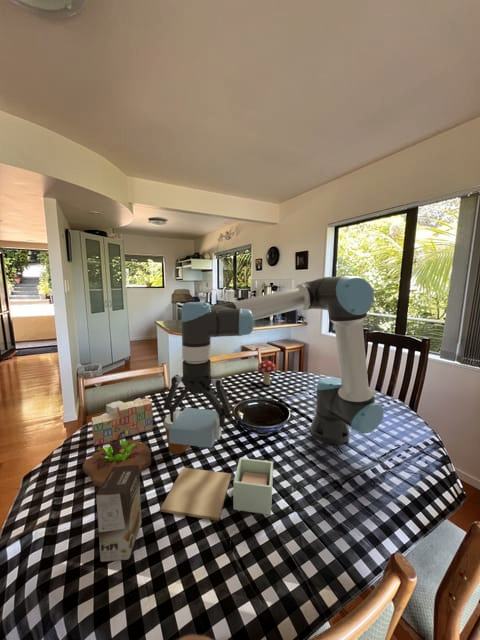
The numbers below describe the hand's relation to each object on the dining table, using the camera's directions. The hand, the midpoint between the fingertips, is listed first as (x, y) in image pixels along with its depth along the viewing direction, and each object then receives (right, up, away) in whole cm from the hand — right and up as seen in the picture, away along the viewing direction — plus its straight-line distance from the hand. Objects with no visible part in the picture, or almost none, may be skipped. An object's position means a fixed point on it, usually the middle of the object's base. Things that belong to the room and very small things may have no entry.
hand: (197, 434), depth 73 cm
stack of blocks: (-34, -14, +31) cm, 48 cm away
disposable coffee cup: (-11, -15, +22) cm, 29 cm away
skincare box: (-43, -12, +43) cm, 62 cm away
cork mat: (0, -18, +2) cm, 18 cm away
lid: (0, 0, 0) cm, 0 cm away
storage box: (+16, -18, +1) cm, 24 cm away
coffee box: (-16, -20, -12) cm, 28 cm away
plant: (-28, -17, +15) cm, 36 cm away
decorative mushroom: (+28, -7, +84) cm, 89 cm away
